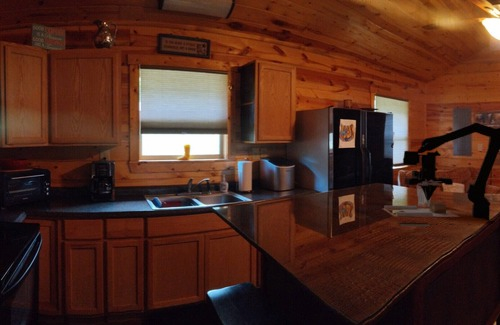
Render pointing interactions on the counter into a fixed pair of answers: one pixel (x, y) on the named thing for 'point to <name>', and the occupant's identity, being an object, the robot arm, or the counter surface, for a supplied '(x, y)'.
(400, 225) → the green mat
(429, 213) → the board
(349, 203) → the counter surface
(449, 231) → the counter surface
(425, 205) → the beer glass
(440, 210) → the walnut block
